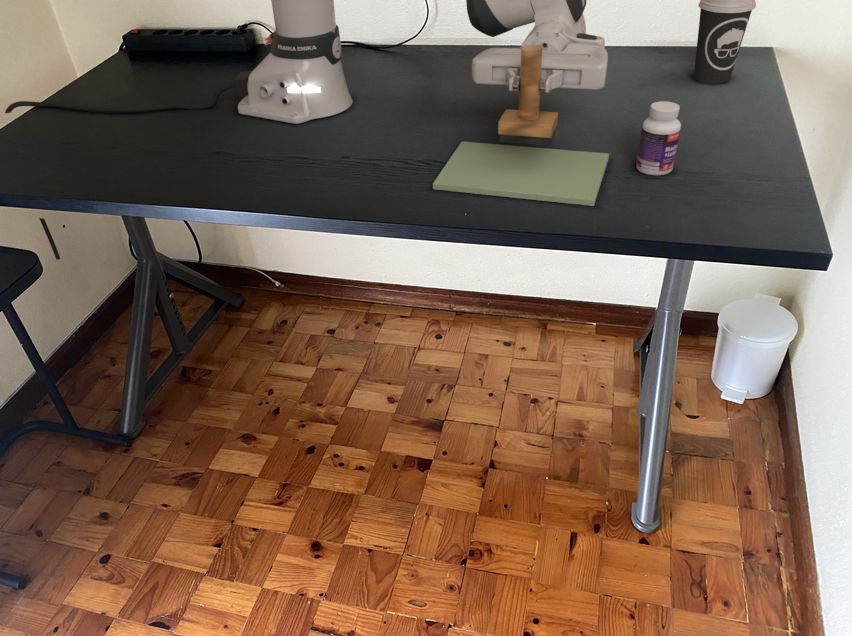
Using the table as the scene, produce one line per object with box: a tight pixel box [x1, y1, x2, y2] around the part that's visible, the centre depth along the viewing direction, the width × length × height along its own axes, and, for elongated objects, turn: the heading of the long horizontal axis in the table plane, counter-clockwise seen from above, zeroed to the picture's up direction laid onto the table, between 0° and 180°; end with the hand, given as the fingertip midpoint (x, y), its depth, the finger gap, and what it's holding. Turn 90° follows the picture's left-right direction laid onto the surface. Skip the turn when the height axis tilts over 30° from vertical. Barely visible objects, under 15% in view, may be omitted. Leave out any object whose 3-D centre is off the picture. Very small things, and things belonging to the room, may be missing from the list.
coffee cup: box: [693, 0, 757, 85], centre depth 135 cm, size 10×10×15 cm
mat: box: [432, 141, 610, 207], centre depth 113 cm, size 24×16×1 cm, turn 70°
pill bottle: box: [635, 100, 682, 176], centre depth 108 cm, size 5×5×10 cm
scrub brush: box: [497, 45, 559, 146], centre depth 107 cm, size 8×5×13 cm, turn 70°
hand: (529, 86), depth 106 cm, fingers closed on scrub brush, 3 cm apart
